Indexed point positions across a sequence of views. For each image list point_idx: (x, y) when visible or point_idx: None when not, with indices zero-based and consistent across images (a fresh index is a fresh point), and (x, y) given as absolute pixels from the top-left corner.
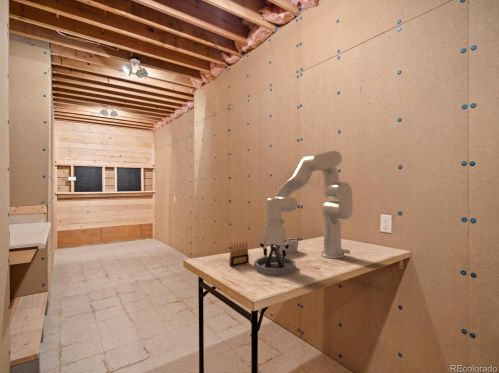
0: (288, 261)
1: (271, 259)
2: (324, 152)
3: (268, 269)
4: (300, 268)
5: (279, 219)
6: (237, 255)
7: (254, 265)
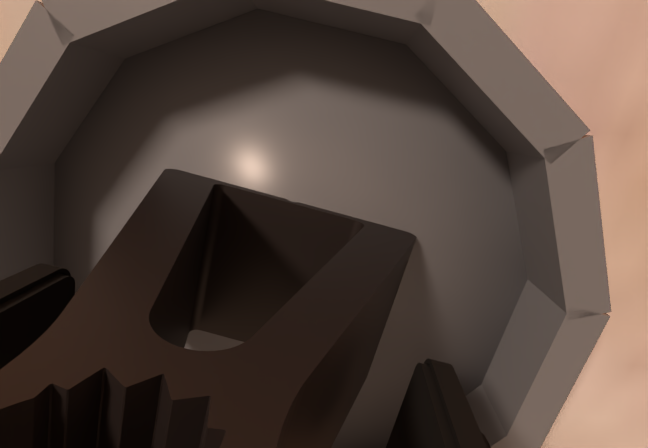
0: (517, 151)
1: (230, 6)
2: None
3: None
4: (611, 306)
5: None
6: None
7: None
